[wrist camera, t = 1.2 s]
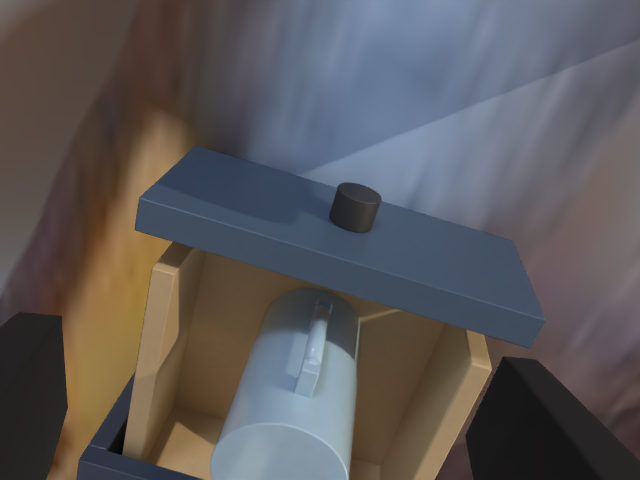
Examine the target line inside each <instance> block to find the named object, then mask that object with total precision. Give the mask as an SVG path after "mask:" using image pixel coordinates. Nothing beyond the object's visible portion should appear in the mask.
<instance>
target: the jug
mask: <svg viewBox="0 0 640 480" xmlns="http://www.w3.org/2000/svg"><path fill="white" fill-rule="evenodd" d="M361 343H362V328H361V323H360V321H359V318H358V316H357V314H356V313H355V311H354V310H353V308H352V307H351V306H350V305H349V304H348V303H347V302H345V301H344V300H343V299H342V298H340V297H339V296H337V295H335V294H333V293H331V292H328V291H325V290H321V289H315V288H300V289H295V290H291V291H288V292H286V293H284V294H282V295H280V296H279V297H277V298H276V299H275V300H274V301H272V302H271V304H270V305H269V306H268V307H267V309H266V311H265V313H264V316H263V318H262V321H261V324H260V326H259V329H258V332H257V334H256V337H255V340H254V342H253V345H252V348H251V350H250V353H249V356H248V358H247V361H246V364H245V366H244V369H243V372H242V374H241V377H240V380H239V383H238V385H237V388H236V391H235V393H234V396H233V399H232V401H231V404H230V407H229V409H228V412H227V415H226V417H225V420H224V423H223V425H222V428H221V431H220V433H219V436H218V439H217V441H216V444H215V447H214V449H213V452H212V455H211V459H210V472H211V477H212V480H349V476H350V465H351V454H352V443H353V431H354V420H355V409H356V398H357V387H358V376H359V365H360V354H361Z"/></svg>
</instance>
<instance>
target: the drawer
mask: <svg viewBox="0 0 640 480" xmlns="http://www.w3.org/2000/svg"><path fill="white" fill-rule="evenodd" d="M135 230H136V231H139V232H143V233H146V234H149V235H153V236H156V237H159V238H163V239H166V240H169V241H173V243H172V244H171V245H170V246H169V248H168V249H167V250H166V251H165V253H164V254H163V255H162V256H161V258H160V259H159V260H158V261H157V263H156V264H155V265H154V267H153V268H152V272H151V279H150V285H149V291H148V297H147V304H146V310H145V316H144V322H143V328H142V335H141V341H140V347H139V353H138V360H137V366H136V372H135V378H134V384H133V391H132V397H131V403H130V409H129V415H128V422H127V428H126V434H125V440H124V447H123V453H122V455H123V456H126V457H130V458H133V459H136V460H140V461H143V462H147V463H150V464H153V465H157V466H160V467H164V468H167V469H170V470H174V471H177V472H181V473H184V474H187V475H191V476H194V477H198V478H201V479H204V480H212V477H211V472H210V459H211V455H212V452H213V449H214V447H215V444H216V441H217V439H218V436H219V433H220V431H221V428H222V425H223V423H224V420H225V417H226V415H227V412H228V409H229V407H230V404H231V401H232V399H233V396H234V393H235V391H236V388H237V385H238V383H239V380H240V377H241V374H242V372H243V369H244V366H245V364H246V361H247V358H248V356H249V353H250V350H251V348H252V345H253V342H254V340H255V337H256V334H257V332H258V329H259V326H260V324H261V321H262V318H263V316H264V313H265V311H266V309H267V307H268V306H269V305H270V304H271V302H272V301H274V300H275V299H276V298H277V297H279V296H280V295H282V294H284V293H286V292H288V291H291V290H295V289H300V288H315V289H321V290H325V291H328V292H331V293H333V294H335V295H337V296H339V297H340V298H342V299H343V300H344V301H345V302H347V303H348V304H349V305H350V306H351V307H352V308H353V310H354V311H355V313H356V314H357V316H358V318H359V321H360V323H361V328H362V343H361V354H360V365H359V376H358V387H357V398H356V409H355V420H354V431H353V443H352V454H351V465H350V476H349V480H435V478H436V476H437V474H438V472H439V470H440V468H441V466H442V464H443V463H444V461H445V459H446V457H447V455H448V453H449V451H450V449H451V447H452V445H453V443H454V441H455V440H456V438H457V436H458V434H459V432H460V430H461V428H462V426H463V424H464V422H465V420H466V419H467V417H468V415H469V413H470V411H471V409H472V407H473V405H474V403H475V401H476V399H477V398H478V396H479V394H480V392H481V390H482V388H483V386H484V384H485V382H486V380H487V378H488V376H489V375H490V373H491V371H492V367H491V363H490V358H489V354H488V350H487V346H486V341H485V337H484V335H486V336H490V337H493V338H497V339H500V340H503V341H507V342H510V343H513V344H517V345H520V346H523V347H527V348H531V347H532V345H533V343H534V341H535V339H536V337H537V336H538V334H539V332H540V330H541V328H542V327H543V325H544V323H545V321H546V319H545V316H544V314H543V312H542V309H541V307H540V304H539V302H538V300H537V297H536V295H535V292H534V290H533V288H532V285H531V283H530V281H529V278H528V276H527V273H526V271H525V269H524V266H523V264H522V261H521V259H520V257H519V254H518V252H517V249H516V247H515V245H514V242H513V241H511V240H508V239H504V238H501V237H498V236H494V235H491V234H488V233H484V232H481V231H478V230H474V229H471V228H468V227H464V226H461V225H458V224H454V223H451V222H448V221H445V220H441V219H438V218H435V217H431V216H428V215H425V214H421V213H418V212H415V211H411V210H408V209H405V208H401V207H398V206H395V205H392V204H388V203H385V202H382V201H381V196H380V195H379V194H378V193H377V192H376V191H374V190H372V189H371V188H368V187H366V186H363V185H360V184H356V183H341V184H339V186H338V188H335V187H332V186H329V185H325V184H322V183H319V182H315V181H312V180H309V179H305V178H302V177H299V176H295V175H292V174H289V173H286V172H282V171H279V170H276V169H272V168H269V167H266V166H262V165H259V164H256V163H252V162H249V161H246V160H242V159H239V158H236V157H233V156H229V155H226V154H223V153H219V152H216V151H213V150H209V149H206V148H203V147H199V146H195V147H194V148H193V149H192V150H191V151H190V152H189V153H187V154H186V155H185V156H184V157H183V158H182V159H181V160H180V161H179V162H178V163H177V164H176V165H174V166H173V167H172V168H171V169H170V170H169V171H168V172H167V173H166V174H165V175H164V176H163V177H161V178H160V179H159V180H158V181H157V182H156V183H155V184H154V185H153V186H152V187H151V188H149V189H148V190H147V191H146V192H145V193H144V194H143V195H142V196H141V197H140V198H139V203H138V210H137V217H136V224H135Z"/></svg>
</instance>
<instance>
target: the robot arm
mask: <svg viewBox="0 0 640 480" xmlns="http://www.w3.org/2000/svg"><path fill="white" fill-rule="evenodd" d="M67 409H68V405H67V390H66V375H65V361H64V346H63V332H62V317H61V316H56V315H45V314H34V313H23V312H19V313H17V314H16V315H14V316H13V317H12V318H10V319H9V320H8V321H7V322H6V323H5V324H4V325H3V326H2V327H0V480H46V478H47V475H48V473H49V470H50V467H51V464H52V460H53V457H54V454H55V451H56V447H57V444H58V441H59V437H60V433H61V430H62V426H63V423H64V419H65V416H66V412H67ZM466 441H467V447H468V452H469V458H470V464H471V469H472V474H473V478H474V480H640V461H639V460H638V459H637V458H636V457H635V456H634V455H633V454H632V453H631V452H630V451H629V450H628V449H627V448H626V447H625V446H624V445H623V444H622V443H621V442H620V441H619V440H618V439H617V438H616V437H615V436H614V435H613V434H612V433H611V432H610V431H609V430H608V429H607V428H606V427H605V426H604V425H603V424H602V423H601V422H600V421H599V420H598V419H597V418H596V417H595V416H594V415H593V414H592V413H591V412H590V411H589V410H588V409H587V408H586V407H585V406H584V405H583V404H582V403H581V402H580V401H579V400H578V399H577V398H576V397H575V396H574V395H573V394H572V393H571V392H570V391H569V390H568V389H567V388H566V387H565V386H564V385H563V384H562V383H561V382H560V381H558V380H557V379H556V378H555V377H554V376H553V375H552V374H551V373H550V372H549V371H548V370H547V369H546V368H545V367H544V366H543V365H542V364H540V363H539V362H538V361H537V360H535V359H524V358H513V357H503V358H502V360H501V362H500V364H499V366H498V368H497V371H496V373H495V375H494V377H493V379H492V381H491V383H490V385H489V387H488V389H487V391H486V394H485V396H484V398H483V400H482V402H481V404H480V406H479V408H478V410H477V412H476V414H475V416H474V419H473V421H472V423H471V425H470V427H469V429H468V431H467V433H466Z"/></svg>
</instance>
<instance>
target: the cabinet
mask: <svg viewBox="0 0 640 480" xmlns="http://www.w3.org/2000/svg"><path fill="white" fill-rule="evenodd" d="M135 372H136V371H135ZM134 378H135V373H134V374H133V376H132V377H131V379H130V381H129V382H128V384H127V385H126V387H125V389H124V390H123V392H122V393H121V395H120V396H119V398H118V400H117V401H116V403H115V404H114V406H113V407H112V409H111V411H110V412H109V414H108V415H107V417H106V418H105V420H104V422H103V423H102V425H101V426H100V428H99V429H98V431H97V433H96V434H95V436H94V437H93V439H92V440H91V442H90V444H89V446H87V448H86V450H85V451H84V453H83V454H82V456H81V457H80V459H79V463H78V472H77V480H204V479H201V478H198V477H194V476H191V475H187V474H184V473H181V472H177V471H174V470H170V469H167V468H164V467H160V466H157V465H153V464H150V463H147V462H143V461H140V460H136V459H133V458H130V457H126V456H123V455H122V453H123V447H124V440H125V434H126V428H127V422H128V415H129V409H130V403H131V397H132V391H133V384H134Z"/></svg>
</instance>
